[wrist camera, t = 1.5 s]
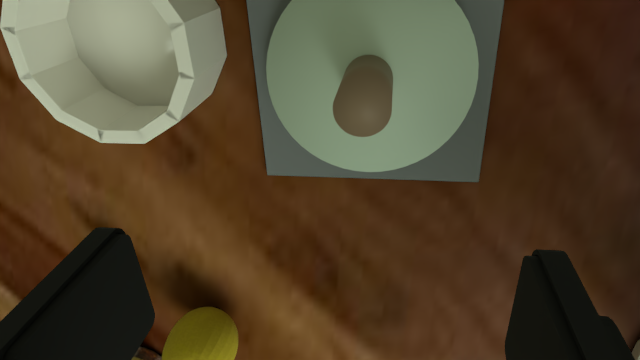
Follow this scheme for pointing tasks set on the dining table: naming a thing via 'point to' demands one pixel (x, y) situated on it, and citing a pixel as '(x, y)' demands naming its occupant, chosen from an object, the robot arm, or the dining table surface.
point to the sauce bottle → (146, 354)
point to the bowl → (116, 61)
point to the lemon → (202, 336)
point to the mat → (442, 165)
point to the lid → (372, 78)
